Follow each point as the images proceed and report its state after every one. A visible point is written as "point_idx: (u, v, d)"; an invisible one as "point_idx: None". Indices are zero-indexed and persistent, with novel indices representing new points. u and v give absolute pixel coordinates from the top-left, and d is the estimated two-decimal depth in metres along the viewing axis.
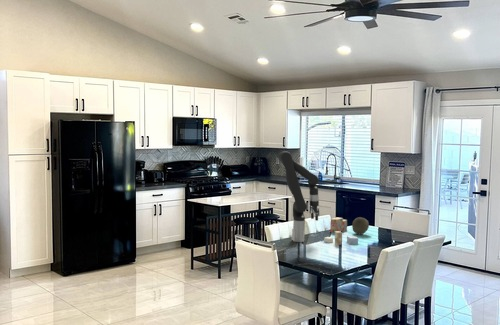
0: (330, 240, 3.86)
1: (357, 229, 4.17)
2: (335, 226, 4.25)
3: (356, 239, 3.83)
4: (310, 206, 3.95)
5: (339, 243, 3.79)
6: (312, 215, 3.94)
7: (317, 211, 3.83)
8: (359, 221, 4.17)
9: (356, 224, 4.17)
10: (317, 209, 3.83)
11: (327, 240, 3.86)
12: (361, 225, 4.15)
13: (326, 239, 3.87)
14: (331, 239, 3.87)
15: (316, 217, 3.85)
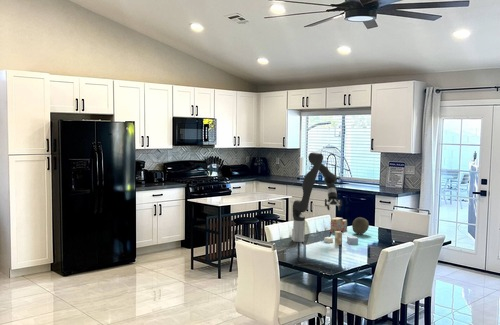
0: (330, 240, 3.86)
1: (357, 229, 4.17)
2: (335, 226, 4.25)
3: (356, 239, 3.83)
4: None
5: (339, 243, 3.79)
6: None
7: None
8: (359, 221, 4.17)
9: (356, 224, 4.17)
10: None
11: (327, 240, 3.86)
12: (361, 225, 4.15)
13: (326, 239, 3.87)
14: (331, 239, 3.87)
15: None
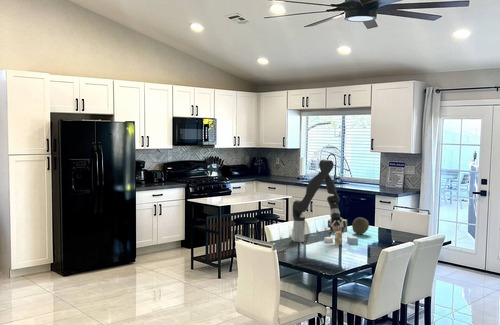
0: (330, 240, 3.86)
1: (357, 229, 4.17)
2: (334, 226, 4.25)
3: (356, 239, 3.82)
4: (329, 220, 3.91)
5: (339, 243, 3.79)
6: None
7: None
8: (359, 221, 4.17)
9: (356, 224, 4.17)
10: None
11: (327, 240, 3.86)
12: (361, 225, 4.15)
13: (326, 239, 3.87)
14: (331, 239, 3.87)
15: (343, 228, 3.86)
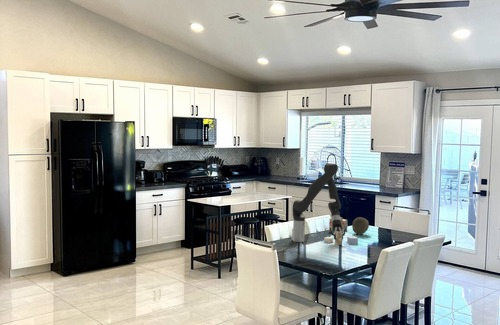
0: (330, 240, 3.86)
1: (357, 229, 4.17)
2: None
3: (356, 239, 3.82)
4: (330, 228, 3.85)
5: (339, 243, 3.79)
6: None
7: (345, 231, 3.84)
8: (359, 221, 4.17)
9: (356, 224, 4.17)
10: (345, 230, 3.85)
11: (327, 240, 3.86)
12: (361, 225, 4.15)
13: (326, 239, 3.87)
14: (331, 239, 3.87)
15: (342, 236, 3.80)
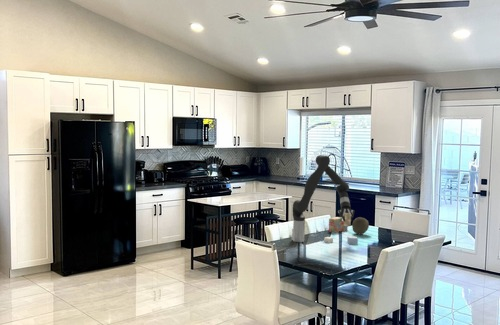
0: (330, 240, 3.86)
1: (357, 229, 4.17)
2: (333, 225, 4.27)
3: (356, 239, 3.82)
4: (339, 210, 3.87)
5: (348, 224, 3.81)
6: None
7: None
8: (359, 221, 4.17)
9: (356, 224, 4.17)
10: (354, 211, 3.87)
11: (327, 240, 3.86)
12: (361, 225, 4.15)
13: (326, 239, 3.87)
14: (331, 239, 3.87)
15: (351, 217, 3.83)
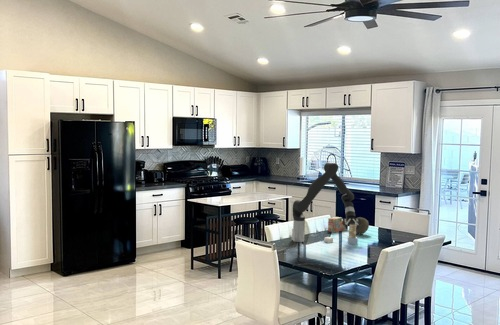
0: (330, 240, 3.86)
1: None
2: (332, 225, 4.28)
3: (355, 239, 3.82)
4: None
5: (353, 236, 3.83)
6: None
7: None
8: None
9: None
10: None
11: (327, 240, 3.86)
12: (361, 225, 4.15)
13: (326, 239, 3.87)
14: (331, 239, 3.87)
15: (358, 226, 3.86)
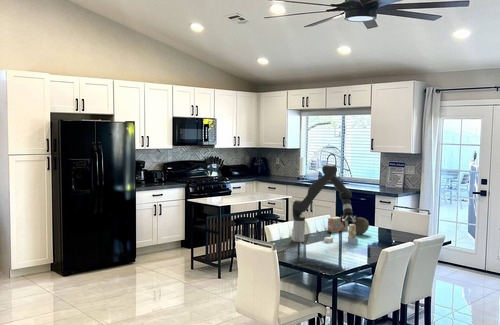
0: (330, 240, 3.86)
1: (357, 229, 4.17)
2: (332, 225, 4.29)
3: (356, 239, 3.82)
4: (341, 215, 4.01)
5: (353, 236, 3.84)
6: None
7: None
8: (359, 221, 4.17)
9: (356, 224, 4.17)
10: None
11: (327, 240, 3.87)
12: (361, 225, 4.15)
13: (326, 239, 3.87)
14: (331, 239, 3.87)
15: (355, 223, 3.97)
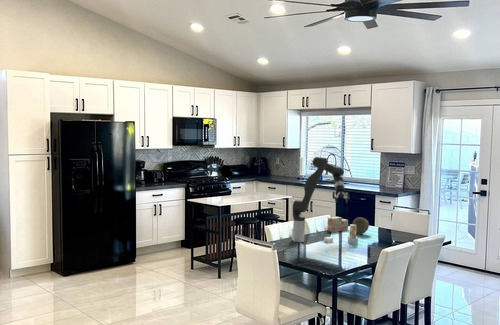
0: (329, 240, 3.86)
1: (357, 229, 4.17)
2: (331, 225, 4.29)
3: (356, 239, 3.82)
4: (334, 192, 4.07)
5: (354, 236, 3.84)
6: None
7: None
8: (359, 221, 4.17)
9: (356, 224, 4.17)
10: None
11: (326, 240, 3.87)
12: (361, 225, 4.15)
13: (326, 239, 3.87)
14: (331, 239, 3.87)
15: (347, 199, 4.03)
